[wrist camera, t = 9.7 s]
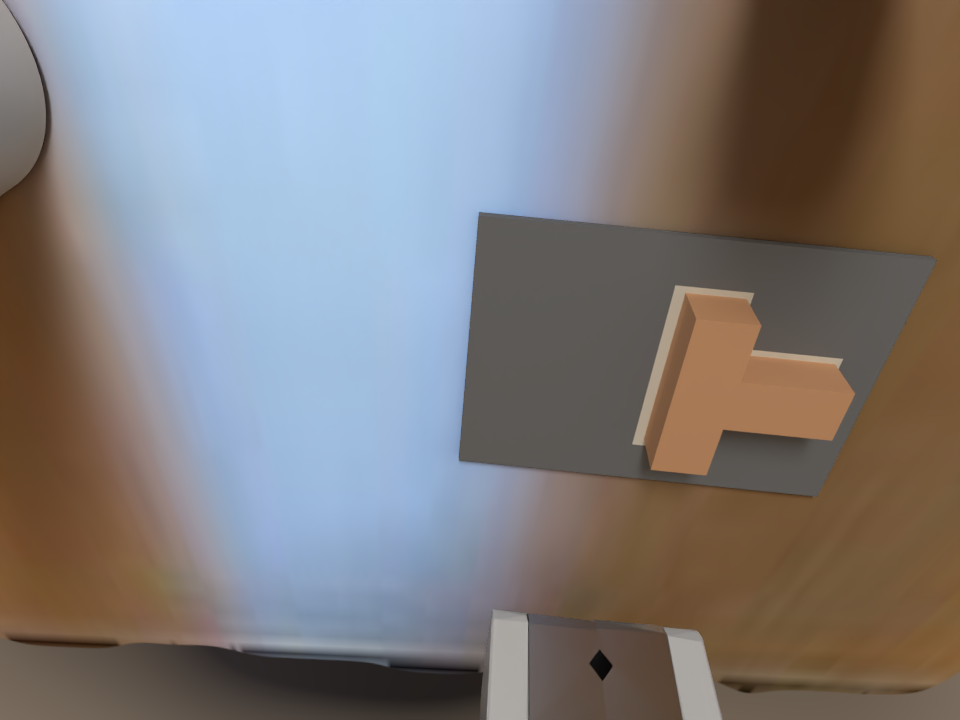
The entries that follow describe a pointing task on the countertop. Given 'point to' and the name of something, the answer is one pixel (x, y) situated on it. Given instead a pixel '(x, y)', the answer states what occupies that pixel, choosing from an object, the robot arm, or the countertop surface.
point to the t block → (734, 388)
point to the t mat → (658, 341)
